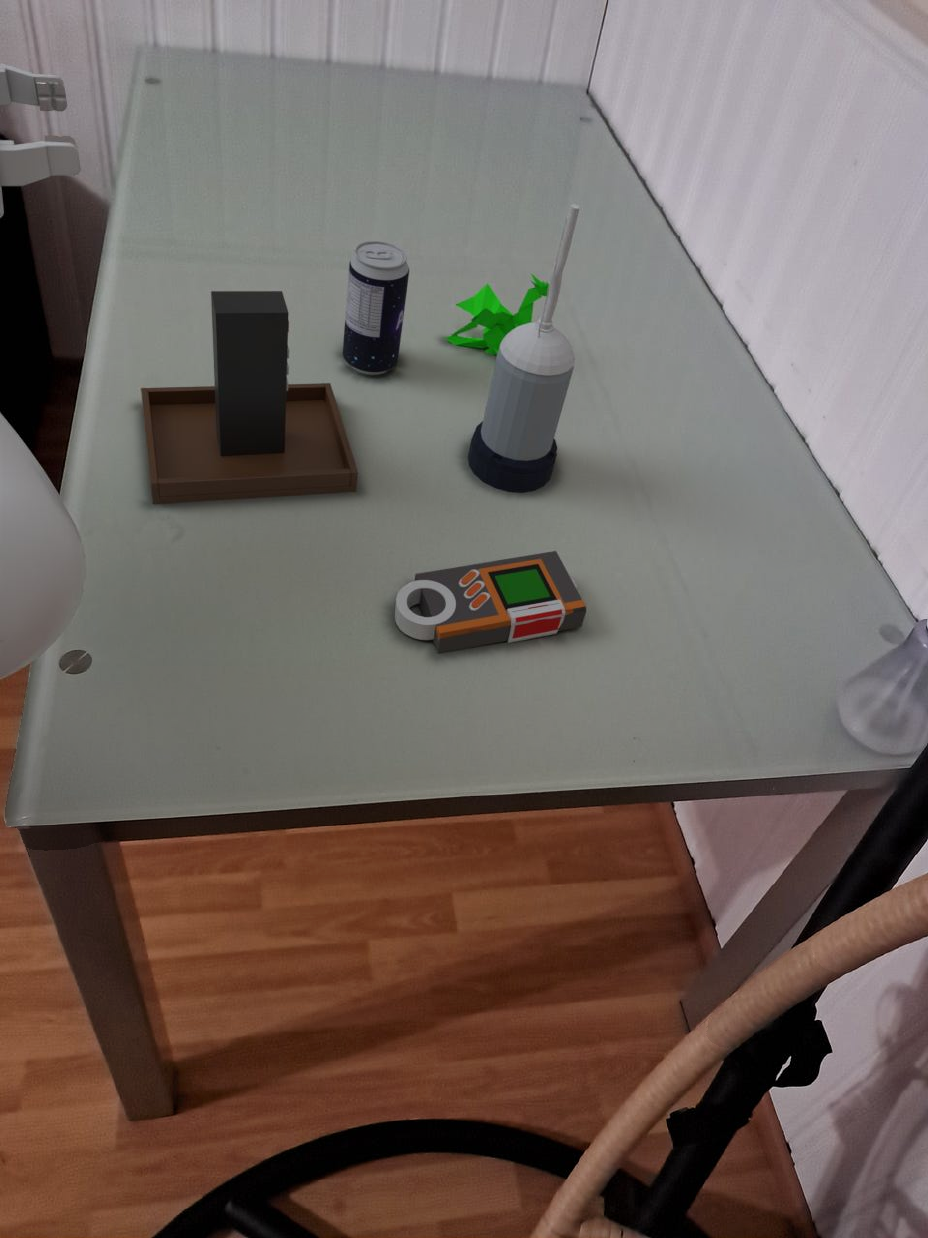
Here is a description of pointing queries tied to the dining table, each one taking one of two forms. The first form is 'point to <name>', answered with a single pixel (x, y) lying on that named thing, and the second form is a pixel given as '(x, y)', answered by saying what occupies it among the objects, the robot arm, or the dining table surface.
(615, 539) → the dining table surface
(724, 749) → the dining table surface
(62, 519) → the robot arm
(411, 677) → the dining table surface
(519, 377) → the humidifier
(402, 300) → the beverage can
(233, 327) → the tall dark grey prism
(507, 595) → the electronic device
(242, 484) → the tray
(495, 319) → the figurine
